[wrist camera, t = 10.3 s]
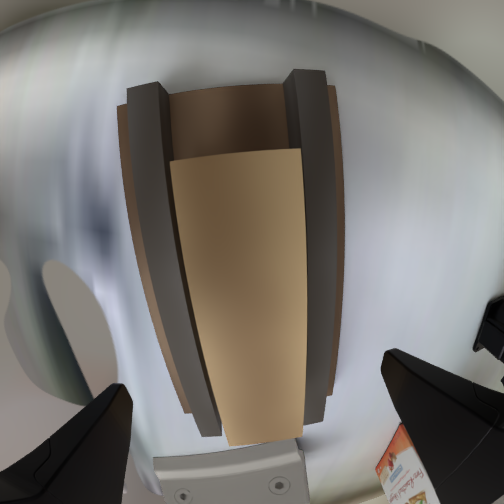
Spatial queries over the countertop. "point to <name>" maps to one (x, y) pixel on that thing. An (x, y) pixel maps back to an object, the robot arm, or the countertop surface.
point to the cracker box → (405, 473)
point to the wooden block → (248, 285)
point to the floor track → (166, 226)
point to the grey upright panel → (236, 476)
